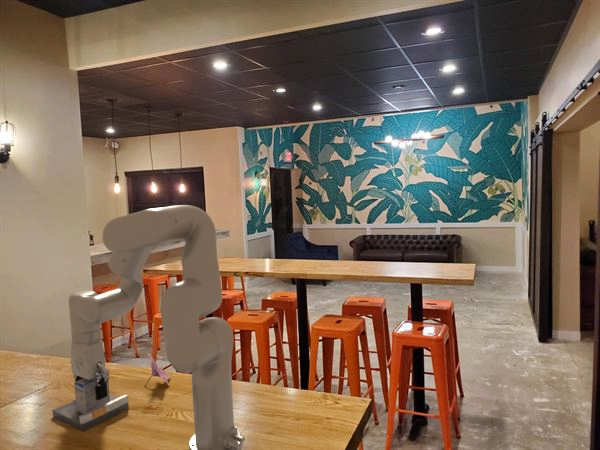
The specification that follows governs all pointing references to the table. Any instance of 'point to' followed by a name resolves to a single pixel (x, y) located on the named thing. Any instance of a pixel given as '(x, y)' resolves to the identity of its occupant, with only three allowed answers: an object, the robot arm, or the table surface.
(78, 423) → the white-edged grey panel
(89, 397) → the medicine box
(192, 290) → the robot arm
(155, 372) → the lily
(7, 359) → the table surface
